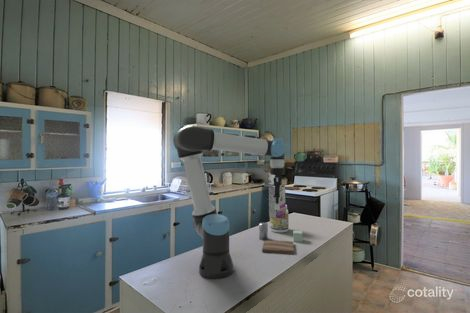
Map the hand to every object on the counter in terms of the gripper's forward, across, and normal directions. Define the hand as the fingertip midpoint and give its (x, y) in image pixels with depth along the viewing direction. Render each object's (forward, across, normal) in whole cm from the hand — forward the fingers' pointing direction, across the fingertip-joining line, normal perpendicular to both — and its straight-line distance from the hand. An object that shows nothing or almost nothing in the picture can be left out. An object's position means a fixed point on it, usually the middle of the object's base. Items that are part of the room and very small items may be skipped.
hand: (277, 207), depth 139 cm
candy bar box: (+5, 0, 0) cm, 5 cm away
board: (+22, -1, -1) cm, 22 cm away
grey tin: (+22, +13, +8) cm, 26 cm away
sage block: (+21, +12, -12) cm, 27 cm away
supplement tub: (+22, +31, -1) cm, 37 cm away
